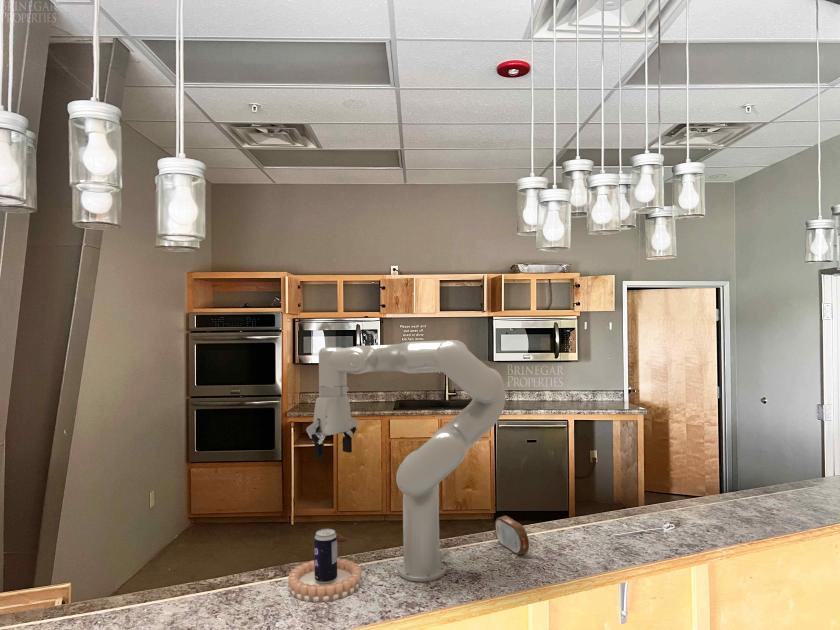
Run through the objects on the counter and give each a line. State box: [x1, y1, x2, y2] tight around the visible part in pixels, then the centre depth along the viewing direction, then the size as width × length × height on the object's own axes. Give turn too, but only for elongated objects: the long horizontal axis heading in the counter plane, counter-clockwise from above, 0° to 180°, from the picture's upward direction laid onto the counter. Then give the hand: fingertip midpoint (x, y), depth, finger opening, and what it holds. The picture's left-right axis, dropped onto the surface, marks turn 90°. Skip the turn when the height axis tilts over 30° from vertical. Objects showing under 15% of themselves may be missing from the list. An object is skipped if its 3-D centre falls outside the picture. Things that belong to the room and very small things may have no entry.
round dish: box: [287, 557, 363, 603], centre depth 136 cm, size 18×18×3 cm
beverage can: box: [313, 528, 338, 584], centre depth 137 cm, size 6×6×12 cm
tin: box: [494, 515, 530, 556], centre depth 157 cm, size 15×3×8 cm, turn 22°
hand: (333, 454), depth 148 cm, fingers open, 9 cm apart
